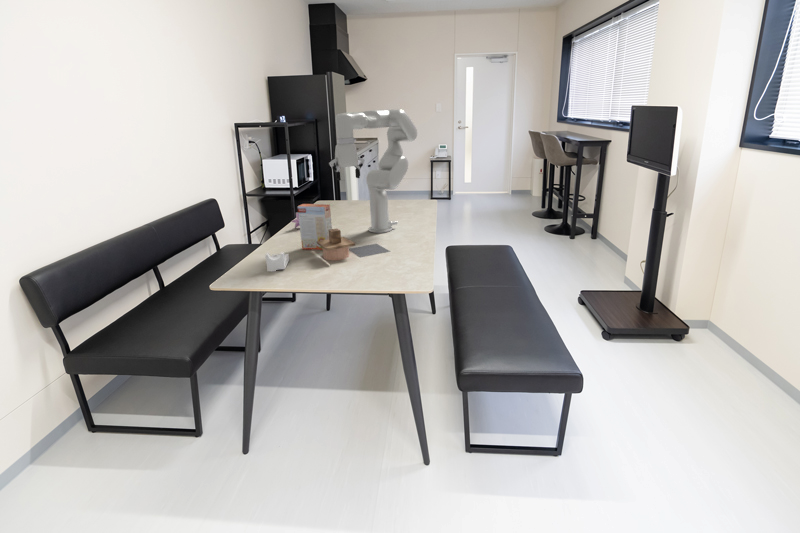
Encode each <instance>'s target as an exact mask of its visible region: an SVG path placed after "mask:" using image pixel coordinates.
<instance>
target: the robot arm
mask: <svg viewBox="0 0 800 533" xmlns="http://www.w3.org/2000/svg"><path fill="white" fill-rule="evenodd" d="M382 128H387V132H386V137H387V143H388V145H387V148H386V151H385V152H384V153H383V155H382V157H381V158H380V159H379V162H378V166H377V167H378V169H371V170H370V171H368V173H367V175H366V177H365V178H366V184H367V188H368V194H369V213H370V226H369V228H368V231H369V232H370V233H374V234H377V233H378V234H382V233H388V232H392V230H393V226H395V225H396V226H397V225H398V220H394V221H393V220H390V218H389V216H390V215H389V212H390V210H389V196H388V194H387V193H388V192H387V191H386V190H388V191H392V190H395V189H397V188H398V186H399V185H400V184H401V182H402V180H403V179H404V176H405V175H406V173H407V172H408V169H409V161H408V158H407V157H405V156H404V155H403V148H402V145H401V143H400V142H407V143H409V142H413V141H415V140H416V139H417V138H418V137H417V136H418V129H417V127H416V125H415V124H414V122H413V121H412V119H411V118H410V116H409V115H408V114H407V112H406V111H404V110H403V109H401V108H400V109H398V108H397V109H377V110H376V109H374V110H373V109H372V110H364V111H356V112H355V111H353V112H342V113H338V114H336V115H335V130H336V139H337V140H336V142H337V144H336V145H335V148H334V149H335V151H334V159H332V160H330V162H328V165H329V166H330V167H331V169H332V170H333V171H334V172H335V179H336V180H337V181H341V171H340V170H341V168H350V167H354V168H355V178H356V179H360V177H361V168H362V167H363V166H364V163H365V159H364V158H361V157H360V156H358V150H357V147H356V143H355V142H357V138H355V137H354V130H362V129H369V130H370V129H382Z"/></svg>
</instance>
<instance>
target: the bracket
mask: <svg viewBox="0 0 800 533" xmlns="http://www.w3.org/2000/svg"><path fill="white" fill-rule="evenodd" d="M264 254H265V255H264V256H265V262H266V268H267V269H266V270H267V272H268V271H271V272H277V271H278V270H286V267H287V265H288V263H289V261H290V255H289V254H290V253H285V252H284V251H281V252H280V253H275V254H270V252H266V253H264ZM276 270H277V271H276Z"/></svg>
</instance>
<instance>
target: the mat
mask: <svg viewBox="0 0 800 533" xmlns="http://www.w3.org/2000/svg"><path fill="white" fill-rule="evenodd" d="M349 252H351V253H352V254H354V255H355V256H357V257H359V258H365V257H369V256H375V255H379V254H383V253H384V254H386V253H390V252H391V250H389V249H387V248H386V247H383V246H381V245H379V244H378V243H371V244H366V245H361V246H360V245H359V246H357V247H355V246H354V247H349Z"/></svg>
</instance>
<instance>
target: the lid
mask: <svg viewBox="0 0 800 533" xmlns="http://www.w3.org/2000/svg"><path fill="white" fill-rule="evenodd" d="M341 234H342V233H341V230H340V229H339V228H332V229H330V230H329V239H327V240H321V241H316V242H317V244H318V245H319V246H321V247H322V248H324V249H325V250H326V251H328V250H333V249H339V248H344V247H349V248H351V247H355V246H356V243H355V242H353V241H352V240H350V239H349V238H347V237H346V236H341Z"/></svg>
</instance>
